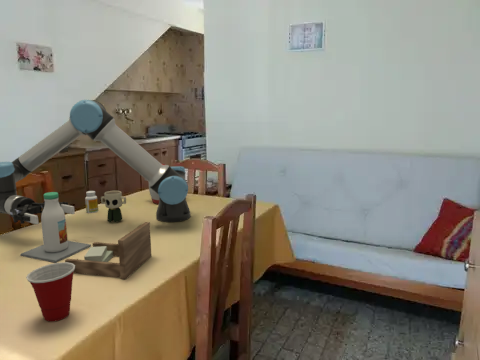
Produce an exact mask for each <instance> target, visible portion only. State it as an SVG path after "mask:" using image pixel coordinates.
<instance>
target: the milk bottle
mask: <svg viewBox="0 0 480 360" xmlns="http://www.w3.org/2000/svg"><path fill="white" fill-rule="evenodd" d="M59 198H60V197H59V192H57V191H51V192H50V191H48V192H45V193H44V194H43V202H45V206H44V209H43V208H42V211H43V212H42V213H41V218H40V222H41V232H42V233H41V235H42V241H43V244H44V250H45V251H46V252H59V251H63V250H65V249H66V248H67V247H68V241H69V240H68V230H67V220H66V215H65V214H66V213H65V212H64V211H63V209H62V208H61V206H60V204H59V202H60V201H59ZM43 244H42V245H43Z"/></svg>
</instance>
